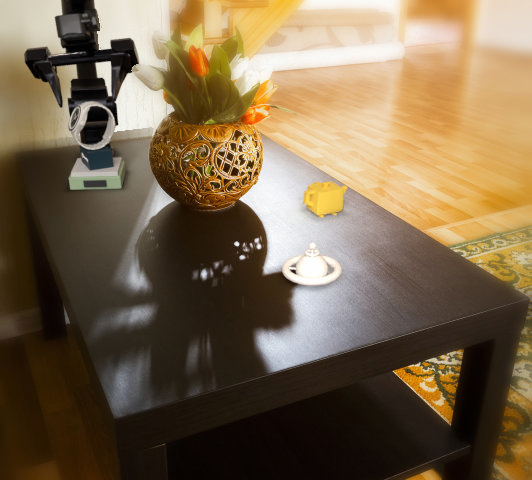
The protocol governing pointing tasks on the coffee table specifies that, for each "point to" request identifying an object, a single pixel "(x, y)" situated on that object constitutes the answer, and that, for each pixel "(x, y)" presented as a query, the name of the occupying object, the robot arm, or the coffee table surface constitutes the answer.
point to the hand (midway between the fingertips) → (87, 103)
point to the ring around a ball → (311, 268)
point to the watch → (95, 152)
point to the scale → (97, 176)
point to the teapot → (324, 198)
